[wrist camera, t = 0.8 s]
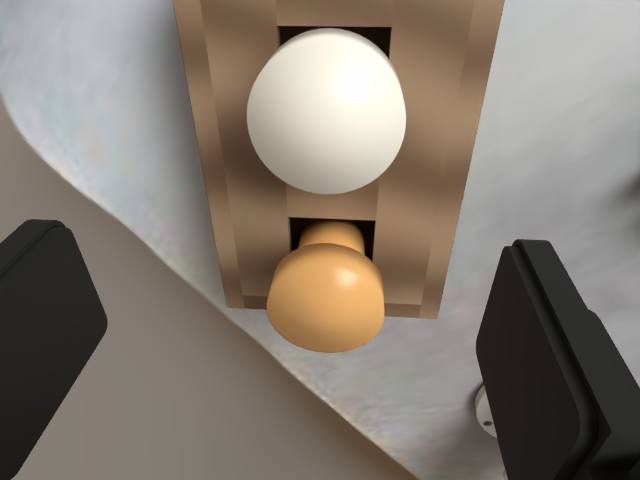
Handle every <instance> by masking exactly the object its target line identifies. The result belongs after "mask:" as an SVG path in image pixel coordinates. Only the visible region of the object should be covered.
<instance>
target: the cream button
mask: <svg viewBox="0 0 640 480" xmlns="http://www.w3.org/2000/svg"><path fill="white" fill-rule="evenodd" d="M247 125H248V131H249V135H250V138H251V142H252V144H253V146H254V148H255V151H256V152H257V154H258V156H259V157H260V159H261V160H262V162H263V163H264V164H265V165H266V167H267V168H268V169H269V170H270V171H271V172H272V173H273V174H275V175H276V176H277V177H278V178H280V179H281V180H283V181H284V182H286V183H288V184H289V185H291V186H293V187H296V188H298V189H301V190H304V191H307V192H312V193H317V194H339V193H345V192H349V191H353V190H356V189H358V188H361V187H363V186H365V185H367V184H369V183H370V182H372V181H373V180H375V179H376V178H378V177H379V176H380V175H381V174H382V173H383V172H384V171H385V170H386V169H387V168H388V167H389V166H390V164H391V163H392V162H393V160H394V159H395V157H396V156H397V153H398V151H399V149H400V147H401V144H402V141H403V138H404V134H405V128H406V111H405V104H404V99H403V94H402V89H401V85H400V81H399V78H398V75H397V73H396V70H395V68H394V67H393V65H392V63H391V61H390V60H389V59H388V57H387V56H386V55H385V53H384V52H383V51H382V50H381V49H380V48H379V47H378V46H376V45H375V44H374V43H372V42H371V41H370V40H368V39H366V38H364V37H363V36H361V35H359V34H356V33H353V32H351V31H347V30H343V29H335V28H321V29H315V30H310V31H307V32H304V33H301V34H299V35H297V36H295V37H293V38H291V39H289V40H288V41H287V42H285V43H284V44H283V45H281V46H280V47H279V48H278V49H277V50H276V51H275V52H274V54H273V55H272V56H271V58H270V59H269V60H268V62H267V63H266V65H265V66H264V68H263V69H262V71H261V72H260V74H259V75H258V77H257V79H256V81H255V82H254V85H253V87H252V90H251V92H250V96H249V100H248V105H247Z"/></svg>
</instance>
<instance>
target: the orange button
mask: <svg viewBox="0 0 640 480" xmlns="http://www.w3.org/2000/svg"><path fill="white" fill-rule="evenodd" d="M267 314H268V318H269V320H270V322H271V324H272V326H273V327H274V329H275V330H276V331H277V332H278V333H279V334H280V335H281V336H282V337H283V338H285V339H286V340H287V341H289V342H291V343H292V344H294V345H296V346H299V347H301V348H304V349H307V350H311V351H316V352H324V353H336V352H344V351H348V350H352V349H355V348H358V347H360V346H362V345H364V344H366V343H367V342H369V341H370V340H371V339H372V338H373V337H375V335H376V334H377V333H378V332H379V330H380V329H381V327H382V324H383V321H384V293H383V281H382V277H381V274H380V272H379V270H378V268H377V267H376V266H375V264H374V263H373V262H372V261H371V260H370V259H369V258H368V257H366V256H365V241H364V237H363V234H362V233H361V231H360V230H359V228H358V227H357V226H356V225H354V224H353V223H352V222H350V221H348V220H346V219H325V218H319V219H316V220H314V221H312V222H311V223H309V224H308V225H307V226H306V227H305V228H304V230H303V231H302V234H301V237H300V242H299V247H298V249H296V250H294V251H292V252H291V253H289V254H288V255H286V256H285V257H284V258H283V259H282V260H281V262H280V263H279V264H278V266H277V268H276V270H275V273H274V276H273V280H272V284H271V288H270V292H269V296H268V300H267Z"/></svg>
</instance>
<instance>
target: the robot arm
mask: <svg viewBox="0 0 640 480" xmlns="http://www.w3.org/2000/svg"><path fill="white" fill-rule="evenodd" d="M106 329H107V317H106V314H105V311H104V309H103V306H102V304H101V302H100V299H99V297H98V294H97V292H96V289H95V287H94V284H93V282H92V280H91V277H90V274H89V272H88V269H87V267H86V264H85V262H84V260H83V257H82V255H81V252H80V250H79V247H78V245H77V242H76V240H75V238H74V235H73V233H72V231H71V230H70V229H69V228H66V227H65V225H64V224H63V223H61V222H60V221H57V220H38V219H37V220H35V219H31V220H27V221H26V222H24V223H23V224H22V225H21V226H19V227H18V228H17V229H16V230H15V231H14V232H13V233H12V234H11V235H9V236H8V237H7V238H6V239H5V240H4V241H3V242H1V243H0V480H11V479H12V478H13V477H14V476H15V475H16V474H17V473H18V471H19V470H20V468H21V467H22V465H23V463H24V462H25V460H26V459H27V457H28V455H29V454H30V452H31V451H32V449H33V448H34V446H35V444H36V443H37V441H38V440H39V438H40V436H41V435H42V433H43V431H44V430H45V428H46V427H47V425H48V424H49V422H50V420H51V419H52V417H53V416H54V414H55V412H56V411H57V409H58V408H59V406H60V404H61V403H62V401H63V400H64V398H65V397H66V395H67V393H68V392H69V390H70V388H71V387H72V385H73V384H74V382H75V381H76V379H77V377H78V375H79V374H80V373H81V371H82V369H83V368H84V366H85V365H86V363H87V361H88V360H89V358H90V356H91V355H92V353H93V352H94V350H95V349H96V347H97V345H98V343H99V342H100V341H101V339H102V337H103V336H104V334H105V332H106ZM476 354H477V359H478V363H479V367H480V371H481V375H482V379H483V383H484V385H483V386H482V387H481V389H480V390H479V392H478V394H477V396H476V398H475V404H474V406H475V412H476V417H477V419H478V422H479V424H480V425H481V427H482V428H483V429H484V430H485V431H486V432H487V433H489V434H490V435H492V436H494V437H495V438H497V439H498V442H499V446H500V450H501V454H502V458H503V462H504V466H505V470H504V473H503V476H504V479H505V480H640V388H639V386H638V384H637V383H636V381H635V379H634V377H633V376H632V374H631V372H630V370H629V369H628V367H627V365H626V364H625V362H624V360H623V358H622V357H621V355H620V353H619V351H618V350H617V348H616V346H615V344H614V343H613V341H612V339H611V338H610V336H609V334H608V332H607V331H606V329H605V327H604V325H603V324H602V322H601V320H600V319H599V318H598V316H597V315H596V314H595V313H594V312H592V311H591V310H588V309H587V307H586V305H585V303H584V302H583V300H582V298H581V296H580V294H579V293H578V291H577V289H576V287H575V286H574V284H573V282H572V280H571V278H570V277H569V275H568V273H567V271H566V270H565V268H564V266H563V264H562V262H561V261H560V259H559V257H558V255H557V254H556V252H555V250H554V248H553V246H552V245H551V243H550V242H549V241H546V240H523V239H517V240H515V241H514V243H513V245H512V246H506V247H504V248H503V251H502V253H501V257H500V260H499V264H498V267H497V271H496V274H495V277H494V281H493V284H492V288H491V291H490V295H489V298H488V302H487V305H486V309H485V312H484V315H483V319H482V322H481V326H480V329H479V333H478V336H477V341H476Z"/></svg>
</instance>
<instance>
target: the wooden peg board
mask: <svg viewBox="0 0 640 480" xmlns="http://www.w3.org/2000/svg"><path fill="white" fill-rule="evenodd" d="M504 1H505V0H173V5H174V10H175V16H176V22H177V27H178V33H179V39H180V44H181V50H182V56H183V61H184V67H185V73H186V78H187V84H188V90H189V95H190V101H191V106H192V112H193V118H194V123H195V129H196V135H197V140H198V146H199V152H200V157H201V163H202V169H203V174H204V180H205V186H206V191H207V197H208V203H209V208H210V214H211V220H212V225H213V231H214V237H215V242H216V248H217V254H218V259H219V265H220V271H221V276H222V282H223V288H224V293H225V299H226V305H227V307H230V308H248V309H266V310H267V300H268V296H269V292H270V288H271V284H272V280H273V276H274V273H275V270H276V268H277V266H278V264H279V263H280V262H281V260H282V259H283V258H284V257H285V256H286V255H288V254H289V253H291V252H292V251H294V250H296V249H298V247H299V242H300V237H301V234H302V231H303V230H304V228H305V227H306V226H307V225H308V224H309V223H311V222H312V221H314V220H316V219H319V218H325V219H346V220H348V221H350V222H352V223H353V224H354V225H356V226H357V227H358V228H359V230H360V231H361V233H362V234H363V237H364V241H365V256H366V257H368V258H369V259H370V260H371V261H372V262H373V263H374V264H375V266H376V267H377V268H378V270H379V272H380V274H381V277H382V281H383V293H384V316H391V317H409V318H426V319H437V318H438V313H439V308H440V303H441V299H442V294H443V289H444V285H445V280H446V275H447V270H448V266H449V261H450V256H451V252H452V247H453V242H454V237H455V233H456V228H457V223H458V219H459V214H460V209H461V204H462V200H463V195H464V190H465V185H466V181H467V176H468V171H469V167H470V162H471V157H472V152H473V148H474V143H475V138H476V134H477V129H478V124H479V119H480V115H481V110H482V105H483V101H484V96H485V91H486V86H487V82H488V77H489V72H490V67H491V63H492V58H493V53H494V49H495V44H496V39H497V34H498V30H499V25H500V20H501V16H502V11H503V6H504ZM321 28H335V29H343V30H347V31H351V32H353V33H356V34H359V35H361V36H363V37H364V38H366V39H368V40H370V41H371V42H372V43H374V44H375V45H376V46H378V47H379V48H380V49H381V50H382V51H383V52H384V53H385V55H386V56H387V57H388V59H389V60H390V61H391V63H392V65H393V67H394V68H395V70H396V73H397V75H398V78H399V81H400V85H401V89H402V94H403V99H404V104H405V111H406V128H405V134H404V138H403V141H402V144H401V147H400V149H399V151H398V153H397V156H396V157H395V159H394V160H393V162H392V163H391V164H390V166H389V167H388V168H387V169H386V170H385V171H384V172H383V173H382V174H381V175H380V176H379V177H378V178H376V179H375V180H373V181H372V182H370V183H369V184H367V185H365V186H363V187H361V188H358V189H356V190H353V191H349V192H345V193H339V194H317V193H312V192H307V191H304V190H301V189H298V188H296V187H293V186H291V185H289V184H288V183H286V182H284V181H283V180H281V179H280V178H278V177H277V176H276V175H275V174H273V173H272V172H271V171H270V170H269V169H268V168H267V167H266V165H265V164H264V163H263V162H262V160H261V159H260V157H259V156H258V154H257V152H256V151H255V148H254V146H253V144H252V142H251V138H250V135H249V131H248V125H247V105H248V100H249V96H250V92H251V90H252V87H253V85H254V82H255V81H256V79H257V77H258V75H259V74H260V72H261V71H262V69H263V68H264V66H265V65H266V63H267V62H268V60H269V59H270V58H271V56H272V55H273V54H274V52H275V51H276V50H277V49H278V48H279V47H280V46H281V45H283V44H284V43H285V42H287V41H288V40H289V39H291V38H293V37H295V36H297V35H299V34H301V33H304V32H307V31H310V30H315V29H321Z"/></svg>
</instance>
